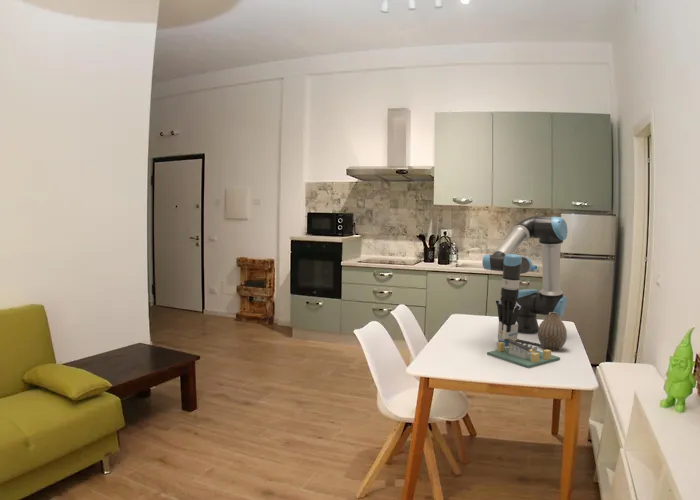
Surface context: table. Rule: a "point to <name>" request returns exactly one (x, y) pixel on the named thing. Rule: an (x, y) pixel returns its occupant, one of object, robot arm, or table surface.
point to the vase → (552, 332)
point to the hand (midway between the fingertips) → (505, 338)
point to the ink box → (512, 333)
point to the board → (521, 360)
